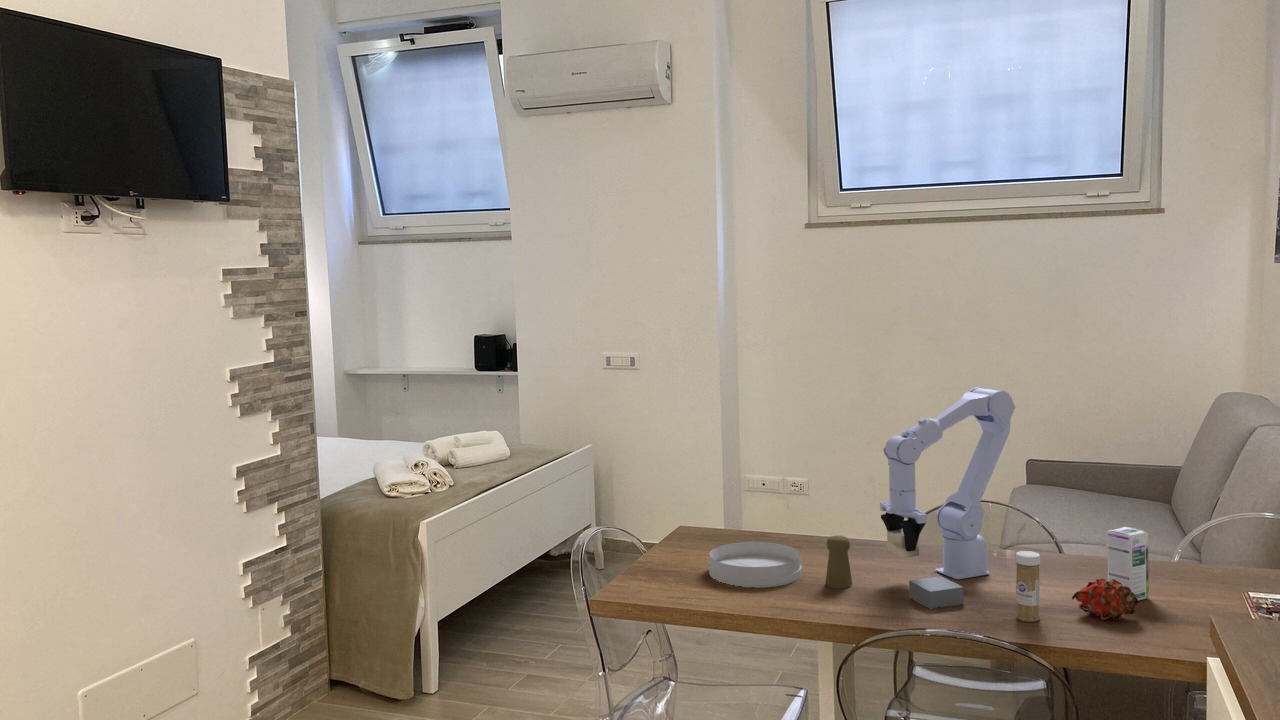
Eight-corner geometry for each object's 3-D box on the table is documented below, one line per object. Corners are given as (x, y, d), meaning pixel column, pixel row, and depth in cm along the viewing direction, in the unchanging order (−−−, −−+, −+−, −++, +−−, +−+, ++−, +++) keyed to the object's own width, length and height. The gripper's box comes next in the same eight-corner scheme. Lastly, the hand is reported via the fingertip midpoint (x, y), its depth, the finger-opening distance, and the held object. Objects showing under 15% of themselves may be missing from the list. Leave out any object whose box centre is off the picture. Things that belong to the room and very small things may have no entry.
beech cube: (905, 550, 220) (905, 528, 219) (919, 555, 215) (918, 533, 215) (887, 552, 218) (887, 531, 218) (900, 558, 213) (900, 536, 213)
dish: (821, 576, 224) (821, 555, 224) (750, 595, 212) (750, 573, 211) (759, 556, 242) (758, 536, 242) (690, 572, 230) (689, 552, 230)
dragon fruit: (1143, 631, 186) (1077, 631, 192) (1141, 596, 192) (1076, 596, 198) (1136, 604, 182) (1068, 605, 188) (1134, 569, 188) (1068, 570, 194)
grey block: (941, 594, 208) (941, 576, 208) (963, 605, 201) (963, 587, 200) (909, 598, 206) (909, 580, 206) (930, 610, 198) (930, 591, 198)
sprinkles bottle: (1012, 619, 191) (1012, 554, 190) (1020, 613, 194) (1020, 548, 193) (1036, 624, 188) (1036, 557, 187) (1043, 617, 191) (1043, 552, 190)
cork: (852, 588, 213) (851, 540, 212) (825, 587, 214) (824, 539, 214) (852, 580, 219) (851, 533, 218) (825, 579, 220) (824, 532, 219)
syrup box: (1131, 603, 198) (1132, 535, 197) (1106, 595, 203) (1106, 529, 202) (1149, 598, 200) (1149, 531, 199) (1123, 591, 206) (1124, 525, 205)
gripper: (868, 485, 221) (869, 542, 222) (907, 497, 207) (908, 558, 208) (894, 482, 223) (894, 538, 224) (934, 493, 210) (934, 553, 211)
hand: (903, 547), depth 217 cm, fingers closed on beech cube, 5 cm apart
